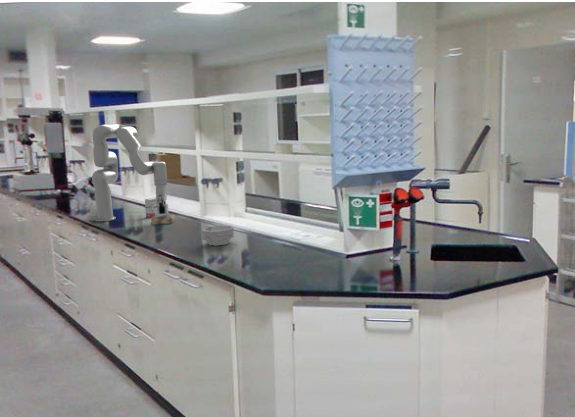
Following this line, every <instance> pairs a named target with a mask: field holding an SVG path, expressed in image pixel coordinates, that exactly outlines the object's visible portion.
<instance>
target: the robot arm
mask: <svg viewBox="0 0 575 417" xmlns="http://www.w3.org/2000/svg"><path fill="white" fill-rule="evenodd" d="M138 135H139V134H138V131H137V129H136V128H135V127H133V126H130V125H129V126H128V125H122V124H118V123H110V124H109V123H108V124H107V123H106V124H100V125H98V126H96V127H95V128H94V129H93V131H92V143H93V163H94V166H95V167H97V168H102V169H97V170H96V171H94V172H93V173H92V176H91V180H92V184H93V188H94V195H95V196H94V197H95V207H96V213H90V215H89V216H90V218H94V221H95V222H110V221H114V220H116V216H114V210H113V200H112V190H111V186H109V184H113V183H116V181H118V178H119V160H118V156H117V155H116V153H115V152H114V151H111V150H109V144H108V142H107V139H118V141H119V142H120V143H121V145H122V146H123V148H125V150H126V151H127V153H128V158H129V162H130V164H131V167H132V168H133V169H134V170H135V172H136V173H137V174H139V175H141V176H146V175H153V183H154V186H155V197H156V202H158V201H159V213H160V214H161V215H163V214H162V213H165V207H164V204H167V198H168V196H167V195H168V194H167V186H168V175H167V174H168V173H167V163H166V162H165V161H151V160H149V161H143V159H142V158H141V156H140V154H139V150H141V148H142V144H140V142H139V141H138V140H137V138H138Z"/></svg>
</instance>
